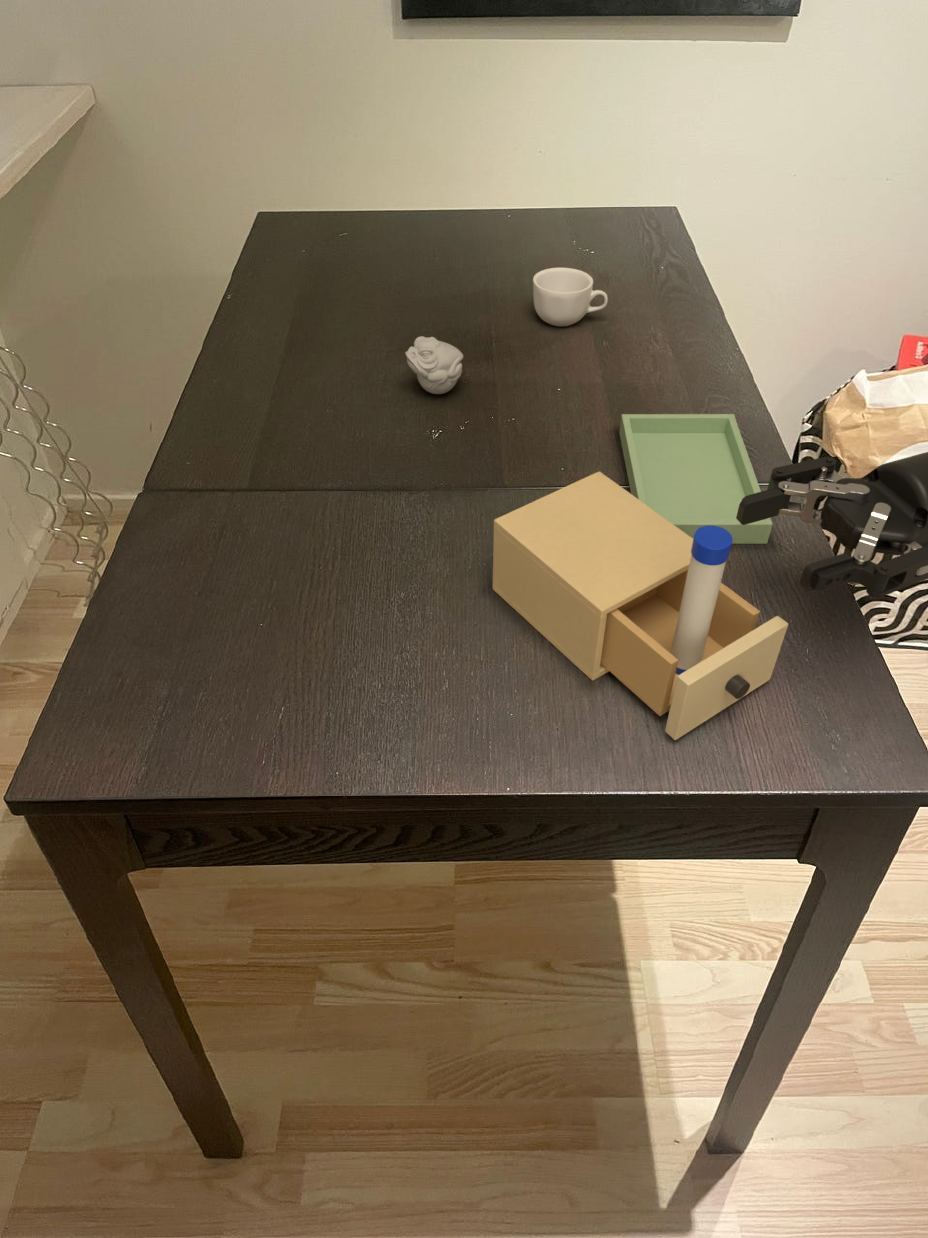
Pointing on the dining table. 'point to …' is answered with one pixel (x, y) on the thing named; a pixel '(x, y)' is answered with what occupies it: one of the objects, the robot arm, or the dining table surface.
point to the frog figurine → (435, 364)
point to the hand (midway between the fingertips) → (771, 544)
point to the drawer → (710, 686)
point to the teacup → (564, 295)
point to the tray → (692, 471)
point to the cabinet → (583, 562)
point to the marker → (700, 594)
